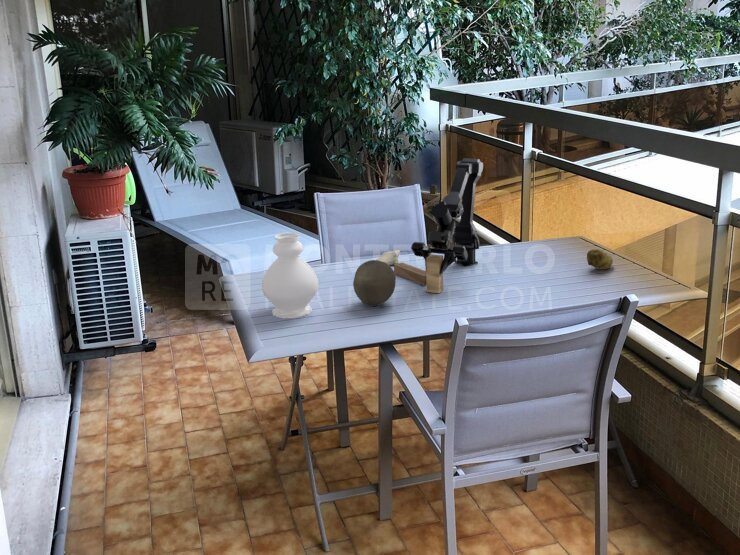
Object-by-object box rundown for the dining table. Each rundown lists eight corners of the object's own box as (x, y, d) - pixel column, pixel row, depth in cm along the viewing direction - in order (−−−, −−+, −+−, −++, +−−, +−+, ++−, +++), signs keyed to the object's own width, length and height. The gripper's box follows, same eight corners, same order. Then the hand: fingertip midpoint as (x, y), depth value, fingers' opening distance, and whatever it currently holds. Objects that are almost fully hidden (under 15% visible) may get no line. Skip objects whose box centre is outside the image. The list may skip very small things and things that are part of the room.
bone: (383, 249, 287) (387, 262, 289) (356, 269, 271) (360, 283, 272) (400, 247, 283) (403, 261, 284) (373, 268, 266) (377, 282, 268)
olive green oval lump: (621, 269, 270) (623, 247, 267) (594, 274, 264) (596, 253, 262) (605, 263, 277) (607, 242, 274) (578, 268, 272) (580, 247, 269)
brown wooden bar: (402, 271, 274) (402, 262, 273) (433, 283, 260) (433, 273, 259) (393, 273, 272) (393, 264, 271) (424, 285, 257) (424, 276, 256)
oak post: (431, 287, 254) (430, 254, 250) (443, 289, 252) (443, 255, 249) (426, 291, 250) (426, 257, 247) (438, 293, 249) (438, 259, 245)
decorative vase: (272, 325, 225) (267, 246, 217) (257, 307, 241) (251, 233, 233) (327, 315, 232) (324, 238, 224) (309, 299, 247) (305, 226, 240)
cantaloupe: (345, 303, 242) (343, 259, 237) (382, 295, 249) (381, 252, 244) (366, 316, 230) (365, 270, 226) (405, 307, 237) (404, 263, 232)
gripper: (412, 218, 251) (400, 258, 245) (465, 223, 244) (454, 264, 238) (421, 235, 261) (410, 274, 254) (472, 240, 253) (462, 280, 247)
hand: (433, 273), depth 248 cm, fingers closed on oak post, 4 cm apart
